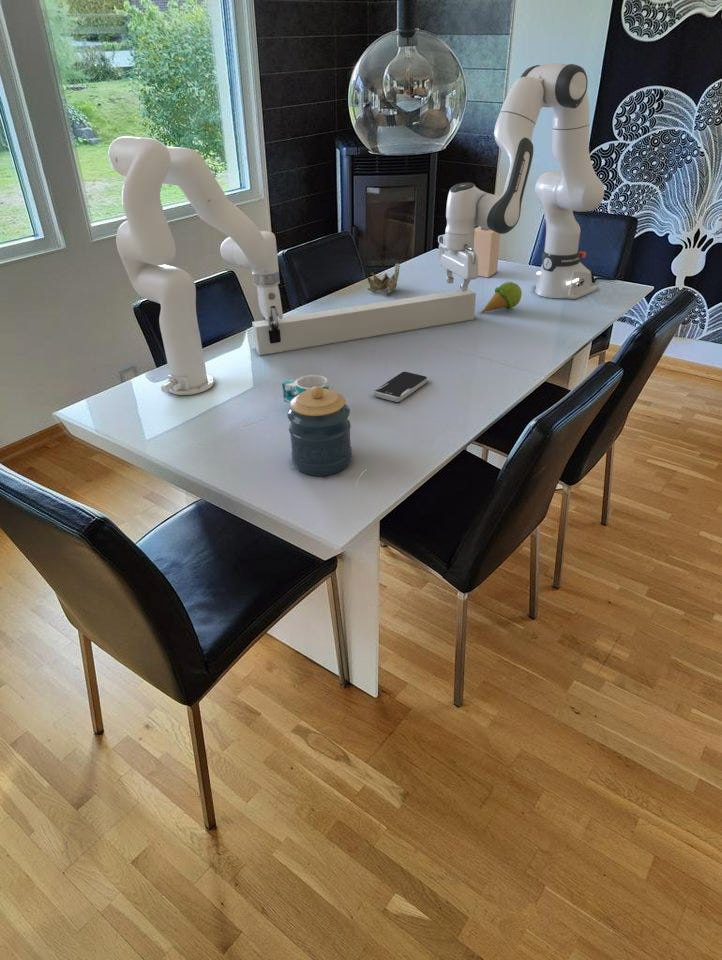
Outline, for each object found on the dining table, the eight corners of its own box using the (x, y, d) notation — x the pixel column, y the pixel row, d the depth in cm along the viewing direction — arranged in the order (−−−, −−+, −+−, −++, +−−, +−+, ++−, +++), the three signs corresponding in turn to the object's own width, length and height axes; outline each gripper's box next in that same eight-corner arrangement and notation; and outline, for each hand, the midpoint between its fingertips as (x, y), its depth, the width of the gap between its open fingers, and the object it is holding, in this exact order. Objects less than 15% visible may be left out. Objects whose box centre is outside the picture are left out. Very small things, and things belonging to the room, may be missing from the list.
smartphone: (428, 377, 177) (398, 398, 167) (428, 381, 178) (398, 403, 168) (403, 371, 181) (372, 391, 171) (403, 375, 182) (373, 396, 171)
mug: (318, 422, 160) (315, 391, 156) (277, 412, 166) (274, 381, 161) (336, 409, 166) (334, 377, 162) (297, 399, 171) (294, 368, 167)
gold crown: (411, 271, 247) (402, 252, 239) (394, 304, 243) (385, 285, 235) (390, 269, 252) (380, 250, 243) (373, 301, 248) (363, 283, 239)
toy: (490, 328, 222) (529, 303, 221) (483, 307, 216) (523, 282, 215) (478, 316, 228) (516, 293, 227) (471, 297, 222) (510, 272, 221)
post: (259, 355, 198) (255, 327, 193) (255, 349, 202) (252, 321, 197) (474, 319, 217) (475, 293, 212) (466, 314, 221) (468, 288, 216)
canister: (282, 471, 142) (273, 395, 133) (307, 442, 152) (301, 370, 143) (338, 481, 138) (333, 404, 129) (360, 451, 148) (358, 377, 139)
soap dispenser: (476, 269, 264) (480, 210, 252) (497, 271, 260) (501, 211, 248) (463, 277, 255) (466, 216, 243) (484, 280, 251) (488, 218, 239)
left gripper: (286, 284, 184) (292, 347, 193) (271, 268, 197) (278, 328, 207) (260, 288, 182) (267, 351, 191) (246, 272, 195) (254, 331, 205)
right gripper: (485, 248, 197) (481, 294, 204) (453, 233, 213) (451, 277, 220) (466, 250, 195) (463, 297, 202) (435, 235, 211) (433, 279, 219)
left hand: (273, 338), depth 199 cm, fingers closed on post, 5 cm apart
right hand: (456, 286), depth 212 cm, fingers open, 8 cm apart
